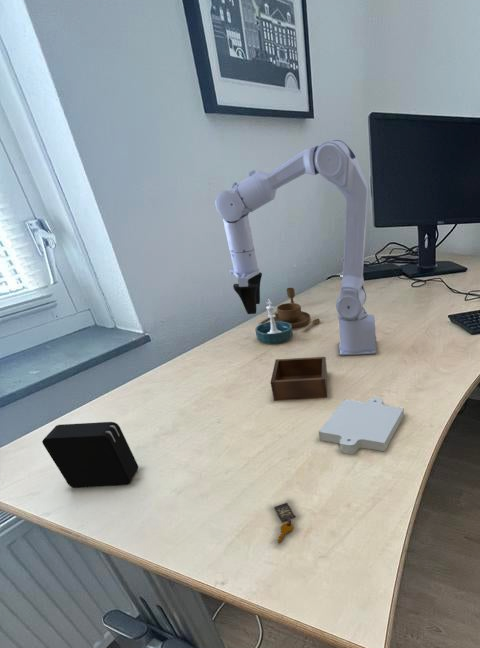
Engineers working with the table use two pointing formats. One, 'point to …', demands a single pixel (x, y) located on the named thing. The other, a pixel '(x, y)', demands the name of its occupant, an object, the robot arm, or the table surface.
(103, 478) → the electronic device
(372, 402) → the mounting plate
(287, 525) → the key tag
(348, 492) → the table surface
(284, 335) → the bowl
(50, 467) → the table surface
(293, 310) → the place setting
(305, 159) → the robot arm
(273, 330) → the chess piece
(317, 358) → the box
